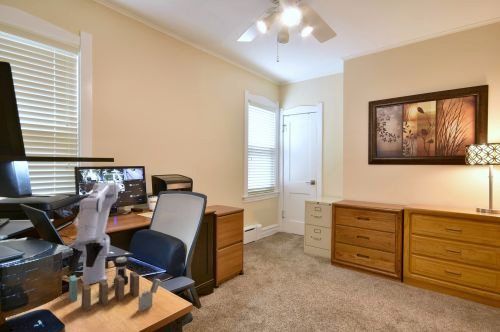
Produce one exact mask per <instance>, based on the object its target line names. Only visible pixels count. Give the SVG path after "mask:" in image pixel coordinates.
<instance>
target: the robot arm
mask: <svg viewBox="0 0 500 332" xmlns="http://www.w3.org/2000/svg"><path fill="white" fill-rule="evenodd" d="M118 194H119V184H118V183H117V182H106V183H105V182H99V183H98V182H95V183H94V184H93V186H92V191H91V192H90V194H89V195H88V196H87V197H85V198H83V199H81V200H80V203H79V212H78V214H79V216H78V217H79V221H78V226H77V227H78V228H77V233H76V238H75V239H74V240H73V241H72V243H70V244H68V245H67V246H66V248H67V247H69V248H72V249H73V251H74V254H73V255H72V256H69V257H68V258H67V257H66V260H67V266H68V267H67V268H68V272H73V273H74V272H77V269H78V264H79V261H80V258H82V260H83V264H82V265H83V266H82V267H83V269H82V271H83V273H82V275H81V276H79V278H80V279H81V281H82V282H83V283H82V284H85V283H88V284H89V285H92V284H96V283H99V280H102V279H105V280H106V281H107V280H109V278H108V276H107V275H106V274H105V273H106V256H107V255H109V253H110V247H111V246H110V245H111V238H110V236H109V235H108V234H107V233H106V229H107V225H108V219H109V215H110V211H111V208H112V205H113V204H114V203H117V201H118V197H119V196H118Z"/></svg>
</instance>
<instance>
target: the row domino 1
mask: <svg viewBox="0 0 500 332" xmlns="http://www.w3.org/2000/svg"><path fill="white" fill-rule="evenodd" d="M91 294H92V287H91V286H90V284H88V283H85V284H84V283H81V307H82V310H83V311H84V313H87V312H90V311H91V309H92V308H91V307H92V301H91V300H92V295H91Z"/></svg>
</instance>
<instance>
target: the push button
mask: <svg viewBox="0 0 500 332" xmlns="http://www.w3.org/2000/svg"><path fill="white" fill-rule="evenodd" d="M129 262H130V261H129V258H127V257H126V256H120V257H117V258H116V259H115V260H113V265H114V267H115V276H118V275H120V276H121V277H122V278H123V279H124V285H128V283H129V276H127V266H128V265H129ZM113 286H114V287H115V277H114V278H113V281H112V282H109V284H108V287H113Z"/></svg>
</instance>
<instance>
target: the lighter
mask: <svg viewBox="0 0 500 332" xmlns="http://www.w3.org/2000/svg"><path fill="white" fill-rule="evenodd" d="M160 283H161V279H159V278H154V279H153V281H152V285H151V287H150V289H149V290H148V289H146V290H144V291H142V294H141V295H140V294H139V296H138V306H137V307H138V311H140V312H143V311H146V310H147V309H149V308H152V307H153V294H156V293H157V291H158V288H159V286H160Z"/></svg>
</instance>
